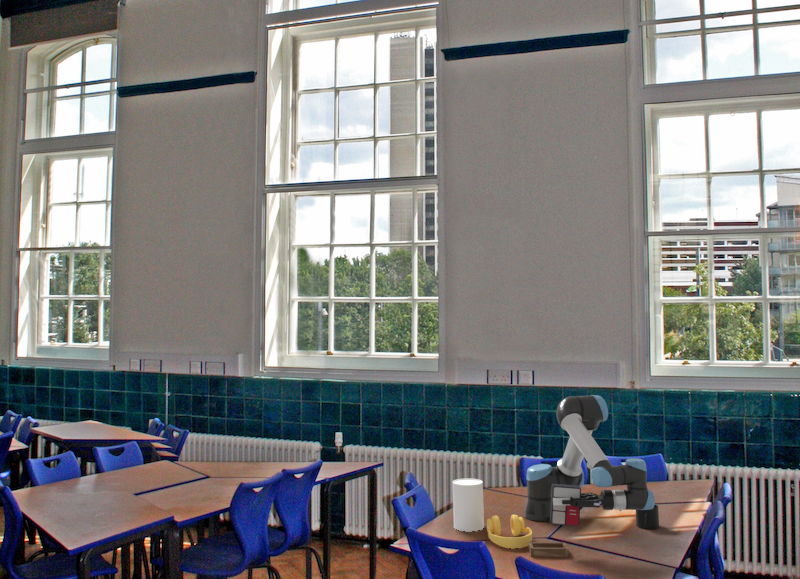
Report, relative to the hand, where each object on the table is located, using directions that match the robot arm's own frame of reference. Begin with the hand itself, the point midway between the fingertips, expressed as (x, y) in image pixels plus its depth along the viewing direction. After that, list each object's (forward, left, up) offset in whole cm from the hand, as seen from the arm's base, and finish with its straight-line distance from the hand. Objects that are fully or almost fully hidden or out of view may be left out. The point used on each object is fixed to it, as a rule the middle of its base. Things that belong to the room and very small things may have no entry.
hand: (552, 500), depth 256 cm
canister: (-32, -33, -20) cm, 50 cm away
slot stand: (+2, -3, -20) cm, 20 cm away
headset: (-14, -16, -20) cm, 30 cm away
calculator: (-1, +4, -10) cm, 11 cm away
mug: (-32, +45, -20) cm, 59 cm away
